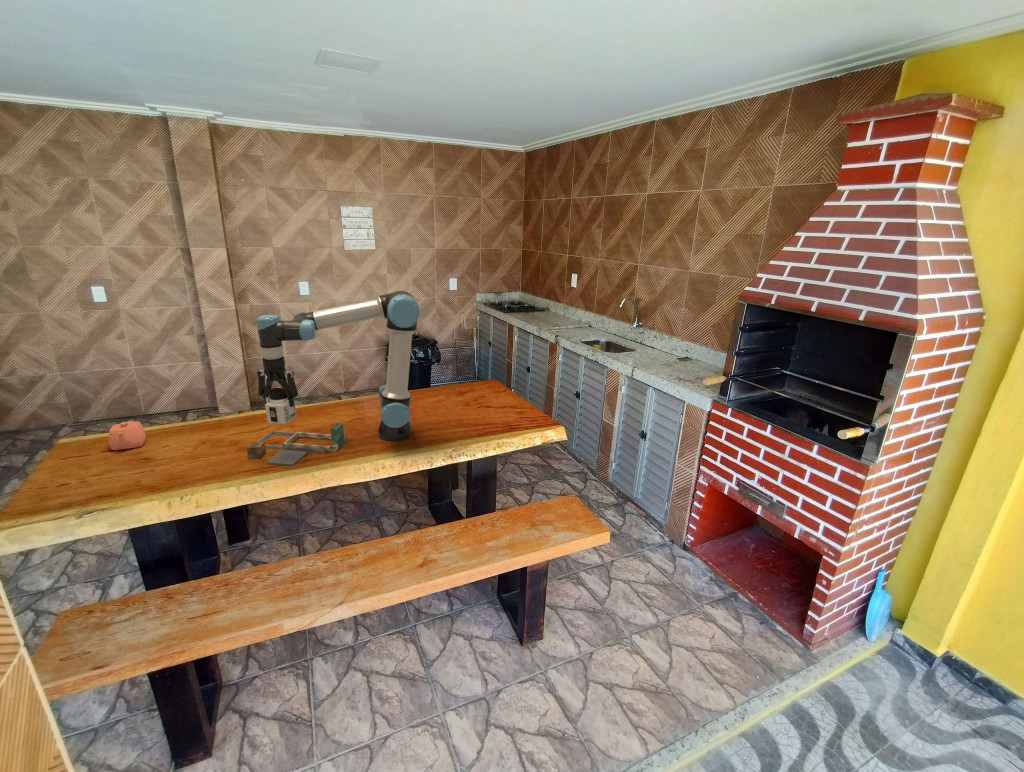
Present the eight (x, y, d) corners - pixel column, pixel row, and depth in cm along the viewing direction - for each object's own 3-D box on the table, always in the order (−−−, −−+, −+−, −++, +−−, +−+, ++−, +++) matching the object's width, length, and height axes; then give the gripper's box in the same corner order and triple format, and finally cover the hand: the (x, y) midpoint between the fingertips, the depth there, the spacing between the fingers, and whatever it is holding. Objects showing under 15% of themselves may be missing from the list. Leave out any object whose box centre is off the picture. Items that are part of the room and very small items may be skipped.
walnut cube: (266, 453, 202) (264, 441, 200) (261, 458, 197) (259, 447, 195) (253, 453, 201) (251, 442, 199) (248, 459, 196) (246, 447, 195)
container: (286, 424, 189) (281, 392, 184) (267, 423, 190) (262, 391, 185) (297, 416, 196) (293, 386, 192) (279, 415, 197) (274, 384, 193)
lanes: (339, 438, 216) (339, 435, 215) (324, 452, 203) (323, 450, 202) (272, 433, 220) (272, 430, 219) (252, 446, 206) (252, 444, 206)
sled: (347, 439, 214) (346, 420, 211) (335, 451, 203) (333, 431, 200) (297, 436, 217) (295, 417, 214) (282, 447, 206) (279, 427, 203)
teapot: (150, 435, 215) (144, 413, 212) (141, 452, 200) (135, 429, 196) (118, 440, 210) (111, 417, 207) (106, 458, 195) (99, 434, 192)
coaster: (307, 453, 202) (307, 451, 202) (292, 465, 192) (292, 464, 191) (282, 451, 203) (282, 449, 203) (266, 463, 193) (266, 462, 193)
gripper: (304, 355, 186) (310, 411, 194) (254, 352, 189) (262, 407, 196) (292, 361, 179) (300, 418, 187) (241, 357, 182) (250, 414, 189)
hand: (281, 413), depth 192 cm, fingers closed on container, 8 cm apart
